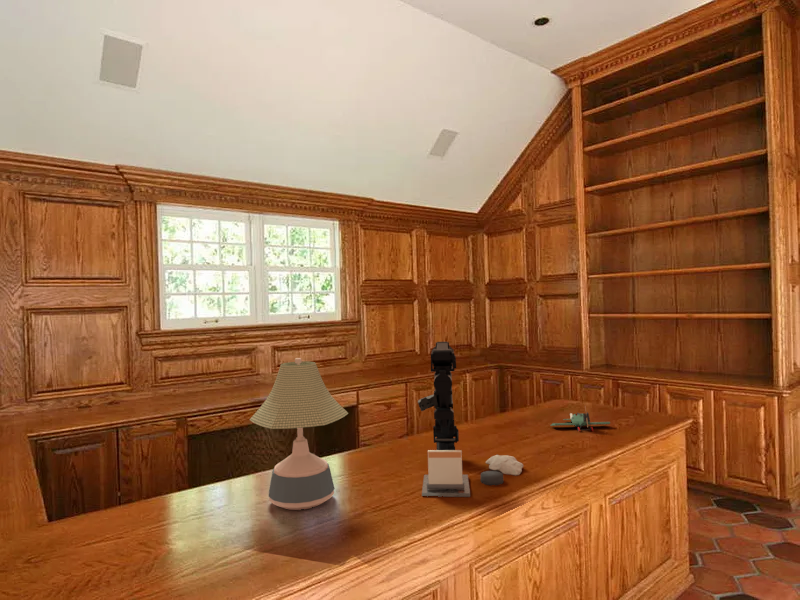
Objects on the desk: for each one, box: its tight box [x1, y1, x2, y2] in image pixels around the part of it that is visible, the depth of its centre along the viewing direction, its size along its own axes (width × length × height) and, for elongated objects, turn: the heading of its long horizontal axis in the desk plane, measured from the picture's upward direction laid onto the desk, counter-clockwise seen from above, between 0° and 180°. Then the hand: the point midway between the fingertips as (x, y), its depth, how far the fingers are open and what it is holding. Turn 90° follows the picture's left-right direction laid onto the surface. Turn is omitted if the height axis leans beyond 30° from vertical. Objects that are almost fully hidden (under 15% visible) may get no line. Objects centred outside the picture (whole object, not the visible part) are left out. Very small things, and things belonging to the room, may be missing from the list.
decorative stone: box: [485, 454, 524, 476], centre depth 169 cm, size 11×4×15 cm
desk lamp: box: [249, 357, 349, 511], centre depth 146 cm, size 26×28×42 cm
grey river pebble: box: [480, 470, 504, 486], centre depth 157 cm, size 7×7×2 cm
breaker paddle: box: [427, 449, 464, 489], centre depth 149 cm, size 2×11×11 cm, turn 85°
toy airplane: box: [549, 405, 611, 432], centre depth 222 cm, size 22×25×11 cm
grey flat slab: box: [421, 474, 471, 498], centre depth 153 cm, size 16×14×1 cm
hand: (444, 435), depth 165 cm, fingers open, 5 cm apart
